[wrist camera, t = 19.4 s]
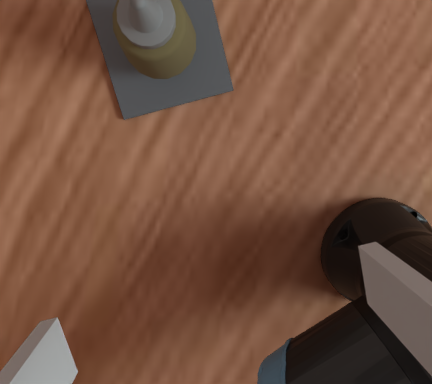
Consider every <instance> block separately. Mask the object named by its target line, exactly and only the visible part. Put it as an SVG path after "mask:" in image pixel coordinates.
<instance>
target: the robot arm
mask: <svg viewBox="0 0 432 384" xmlns="http://www.w3.org/2000/svg"><path fill="white" fill-rule="evenodd" d="M321 262H322V267H323V270H324V272H325V275H326V276H327V278H328V280H329V281H330V282H331V284H332V285H333V286H334V287H335V289H336V290H337V291H338V292H339V293H340V294H341V295H343V296H344V297H345V298H347V299H348V300H350V301H352V302H351V303H349V304H347V305H346V306H344V307H342V308H341V309H339V310H338V311H336V312H335V313H333V314H331V315H330V316H328V317H327V318H325V319H324V320H322V321H320V322H319V323H317V324H316V325H314V326H312V327H311V328H309V329H308V330H306V331H305V332H303V333H301V334H300V335H298V336H296V337H295V338H290V339H288V340H287V341H286V342H285V344H284V345H283V346H281V347H280V348H279V349H277V350H276V351H274V352H273V353H272V354H270V355H269V356H267V357H266V358H265V359H264V360H263V362H262V363H261V365H260V368H259V372H258V382H257V384H432V227H431V226H430V224H429V223H428V222H427V220H426V219H425V218H424V217H423V216H422V215H421V214H420V213H419V212H417V211H416V210H415V209H413V208H411V207H409V206H407V205H405V204H403V203H401V202H398V201H395V200H392V199H386V198H374V199H368V200H364V201H361V202H358V203H356V204H354V205H352V206H350V207H348V208H347V209H345V210H344V211H343V212H342V213H340V214H339V215H338V216H337V217H336V218H335V219H334V221H333V222H332V223H331V225H330V226H329V228H328V230H327V231H326V234H325V236H324V239H323V242H322V247H321ZM77 373H78V371H77V368H76V366H75V363H74V360H73V357H72V355H71V352H70V349H69V347H68V344H67V341H66V339H65V336H64V333H63V330H62V328H61V325H60V322H59V320H58V317H57V318H52V319H48V320H44V321H40V322H39V324H38V325H37V326H36V327H35V329H34V330H33V331H32V332H31V334H30V335H29V336H28V337H27V339H26V340H25V341H24V342H23V344H22V345H21V346H20V347H19V349H18V350H17V351H16V352H15V354H14V355H13V356H12V358H11V359H10V360H9V361H8V363H7V364H6V365H5V366H4V368H3V369H2V370H1V371H0V384H72V383H73V381H74V379H75V377H76V375H77Z"/></svg>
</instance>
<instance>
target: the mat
mask: <svg viewBox="0 0 432 384" xmlns="http://www.w3.org/2000/svg"><path fill="white" fill-rule="evenodd" d="M180 1H181V2H182V4H183V6H184V8H185V10H186V12H187V14H188V16H189V17H190V19H191V22H192V25H193V27H194V30H195V32H196V51H195V53H194V56H193V58H192V61H191V63H190V64H189V65H188V66H187V67H186V68H185V69H184V70H183V72H182V73H181V74H178V75H176V76H173V77H171V78H169V79H153V78H150V77H148V76H146V75H144V74H141V73H139V72H138V71H137V69H136V68H135V67H134V66H133V65H132V64H131V63H130V62H129V61H128V59H127V57H126V56H125V54H124V52H123V50H122V48H121V47H120V45H119V43H118V40H117V38H116V36H115V33H114V31H113V17H112V14H113V11H114V8H115V5H116V2H117V0H86V2H87V5H88V8H89V11H90V14H91V17H92V21H93V24H94V27H95V30H96V33H97V36H98V39H99V43H100V46H101V49H102V52H103V55H104V58H105V62H106V65H107V68H108V71H109V74H110V77H111V80H112V84H113V87H114V90H115V93H116V96H117V99H118V103H119V106H120V109H121V112H122V115H123V118H124V120H125V119H129V118H132V117H136V116H140V115H144V114H147V113H151V112H155V111H158V110H162V109H166V108H170V107H173V106H177V105H181V104H184V103H188V102H192V101H196V100H199V99H203V98H207V97H210V96H214V95H218V94H222V93H225V92H229V91H233V86H232V82H231V78H230V73H229V69H228V65H227V61H226V57H225V53H224V48H223V44H222V40H221V36H220V32H219V28H218V23H217V19H216V15H215V11H214V7H213V2H212V0H180Z"/></svg>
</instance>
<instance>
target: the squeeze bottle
mask: <svg viewBox="0 0 432 384" xmlns="http://www.w3.org/2000/svg"><path fill="white" fill-rule="evenodd" d="M112 17H113V31H114V33H115V36H116V38H117V40H118V43H119V45H120V47H121V48H122V50H123V52H124V54H125V56H126V57H127V59H128V61H129V62H130V63H131V64H132V65H133V66H134V67H135V68H136V69H137V71H138V72H139V73H141V74H144V75H146V76H148V77H150V78H153V79H169V78H171V77H173V76H176V75H178V74H181V73H182V72H183V70H184V69H185V68H186V67H187V66H188V65H189V64H190V63H191V61H192V58H193V56H194V53H195V51H196V32H195V30H194V27H193V25H192V22H191V19H190V17H189V16H188V14H187V12H186V10H185V8H184V6H183V4H182V2H181V1H180V0H117V2H116V5H115V8H114V11H113V14H112Z"/></svg>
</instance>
